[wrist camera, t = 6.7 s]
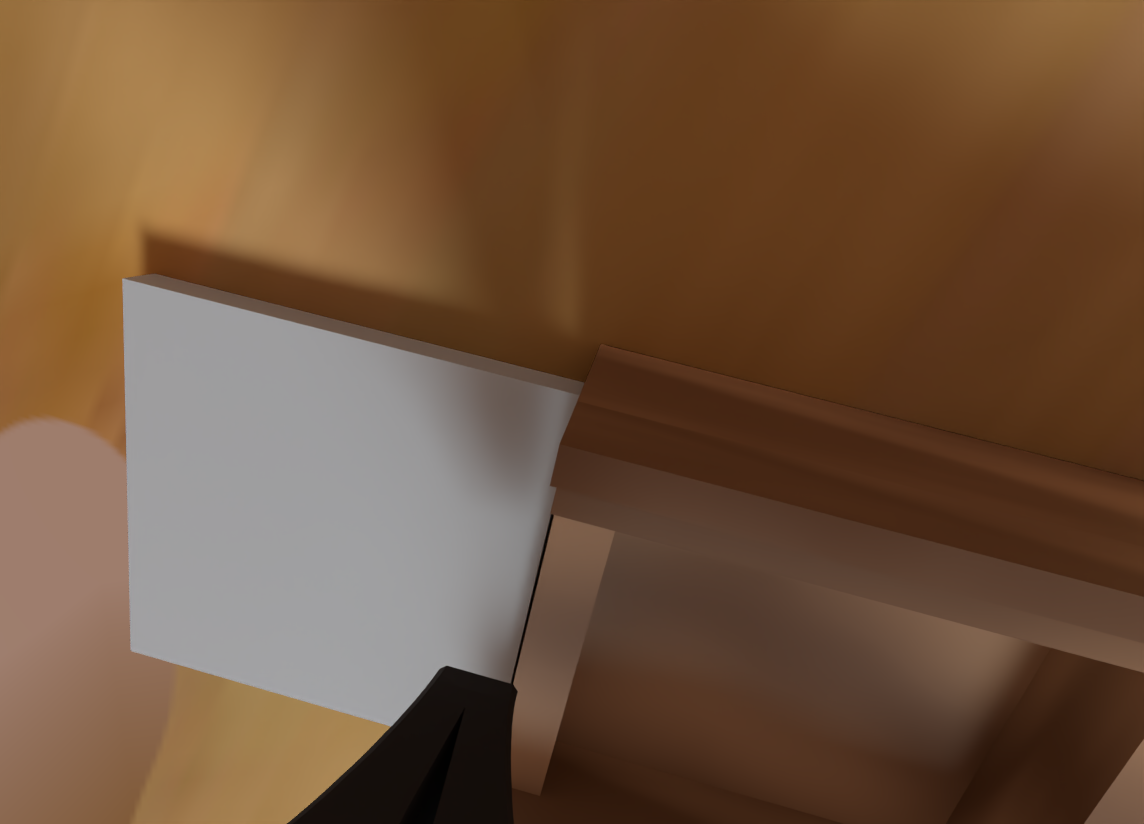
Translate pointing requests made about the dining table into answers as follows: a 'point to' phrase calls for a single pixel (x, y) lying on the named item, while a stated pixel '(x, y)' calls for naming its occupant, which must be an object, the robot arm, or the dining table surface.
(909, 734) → the case
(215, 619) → the lid
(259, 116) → the dining table surface
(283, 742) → the dining table surface
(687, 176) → the dining table surface
